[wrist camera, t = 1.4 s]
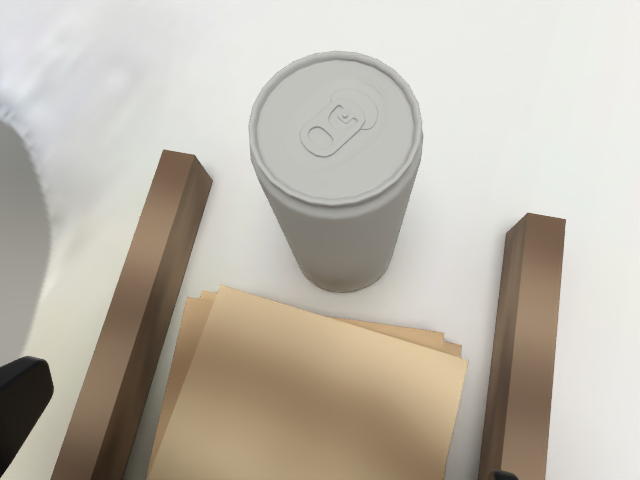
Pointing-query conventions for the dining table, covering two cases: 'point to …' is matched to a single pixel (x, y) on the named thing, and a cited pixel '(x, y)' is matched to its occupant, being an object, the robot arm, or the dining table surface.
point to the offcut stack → (303, 396)
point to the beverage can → (337, 162)
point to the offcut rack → (161, 294)
